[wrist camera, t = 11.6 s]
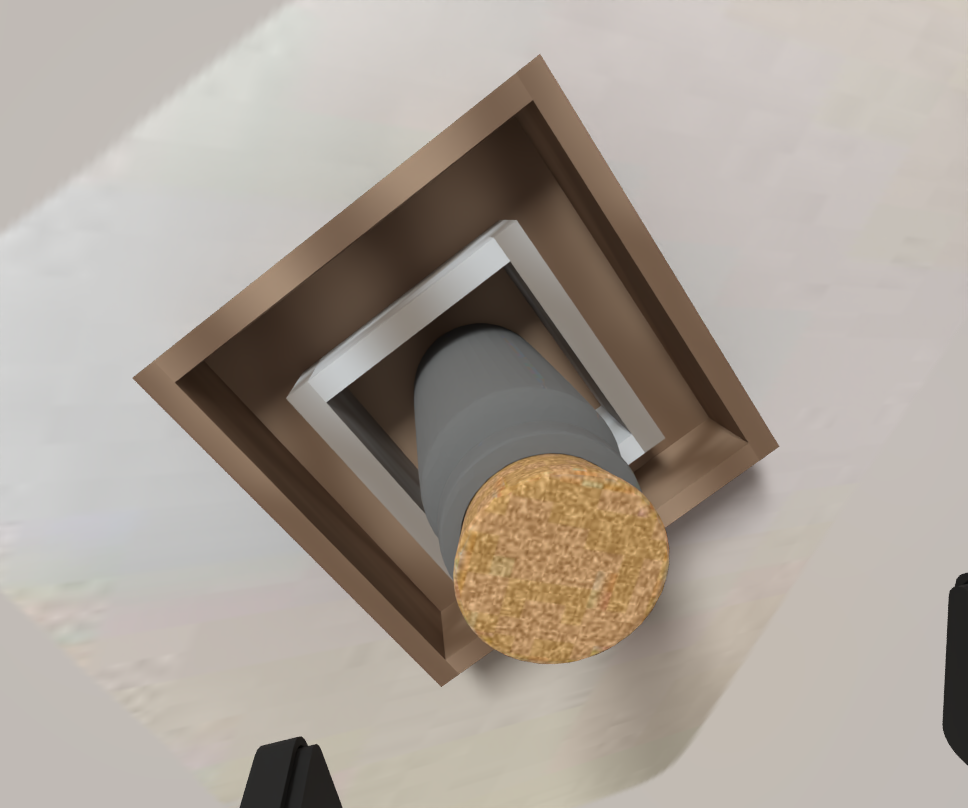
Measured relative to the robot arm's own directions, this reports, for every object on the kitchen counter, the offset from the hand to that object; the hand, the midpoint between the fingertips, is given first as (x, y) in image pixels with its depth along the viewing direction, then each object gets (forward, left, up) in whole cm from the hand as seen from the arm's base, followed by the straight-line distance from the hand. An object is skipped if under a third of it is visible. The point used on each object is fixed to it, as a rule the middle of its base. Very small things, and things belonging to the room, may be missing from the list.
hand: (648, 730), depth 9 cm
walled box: (0, 0, -20) cm, 20 cm away
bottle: (0, 0, -20) cm, 20 cm away
